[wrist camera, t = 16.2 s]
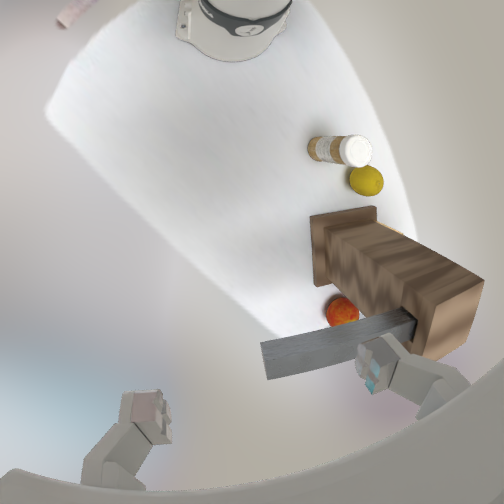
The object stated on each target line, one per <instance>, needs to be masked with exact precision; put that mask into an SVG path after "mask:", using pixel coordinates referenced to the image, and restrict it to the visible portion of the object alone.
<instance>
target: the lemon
mask: <svg viewBox="0 0 504 504" xmlns="http://www.w3.org/2000/svg"><path fill="white" fill-rule="evenodd" d="M383 183H384V181H383V177H382V175H381V173H380V172H379V171H378V170H377V169H376V168H374V167H371V166H368V165H366V166H364V167H360V168H358V167H356V168H355V169H354V170H353V171H352V172H351V174H350V184H351V187H352V188H353V190H354V191H355V192H356V193H358V194H360V195H362V196H374V195H377V194H378V193H379V192H380V191H381V190H382V188H383Z"/></svg>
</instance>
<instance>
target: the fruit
mask: <svg viewBox="0 0 504 504" xmlns="http://www.w3.org/2000/svg"><path fill="white" fill-rule="evenodd" d="M326 317H327V321H328V323H329V324H330V326H331V327H333V326H337V325H341V324H345V323H349V322H353V321H356V320H359V310H358V309H357V308H356V306H355V305H354V304H353V303H352V302H351V301H350V300H349V299H348V298H339V299H335V300H334V301H333V302H332V303H331V304H330V305H329V307H328V309H327V313H326Z"/></svg>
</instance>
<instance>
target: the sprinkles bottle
mask: <svg viewBox="0 0 504 504" xmlns="http://www.w3.org/2000/svg"><path fill="white" fill-rule="evenodd" d="M308 152H309V155H310V156H311V158H312V159H314V160H316V161H320V162H321V161H324V162H329V163H335V164H345V165H348V166H351V167H358V168H360V167H364V166H366V165H367V164H368V163H369V162H370V160H371V158H372V147H371V144H370V142H369V141H368V140H367V139H366V138H365V137H363V136H361V135H348V136H326V137H315V138H313V139H312V140H311V141H310V143H309V145H308Z"/></svg>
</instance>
